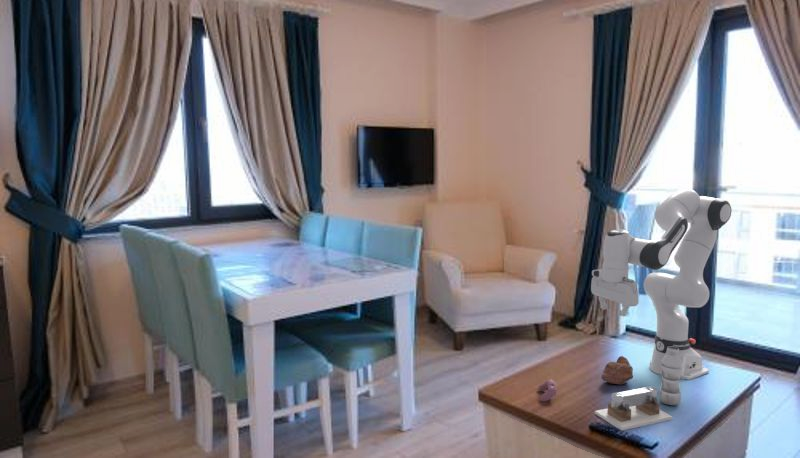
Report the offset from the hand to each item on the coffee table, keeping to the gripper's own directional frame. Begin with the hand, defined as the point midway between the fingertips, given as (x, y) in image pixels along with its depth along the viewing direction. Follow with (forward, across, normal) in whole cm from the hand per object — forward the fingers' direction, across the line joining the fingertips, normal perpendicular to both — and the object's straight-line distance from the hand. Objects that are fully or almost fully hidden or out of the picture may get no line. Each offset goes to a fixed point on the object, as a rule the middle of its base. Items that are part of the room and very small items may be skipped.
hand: (613, 312), depth 192 cm
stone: (+29, +2, -7) cm, 30 cm away
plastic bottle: (+29, -17, -11) cm, 36 cm away
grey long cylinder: (+25, -20, +8) cm, 33 cm away
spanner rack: (+29, -20, +8) cm, 36 cm away
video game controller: (+29, +2, +25) cm, 39 cm away
